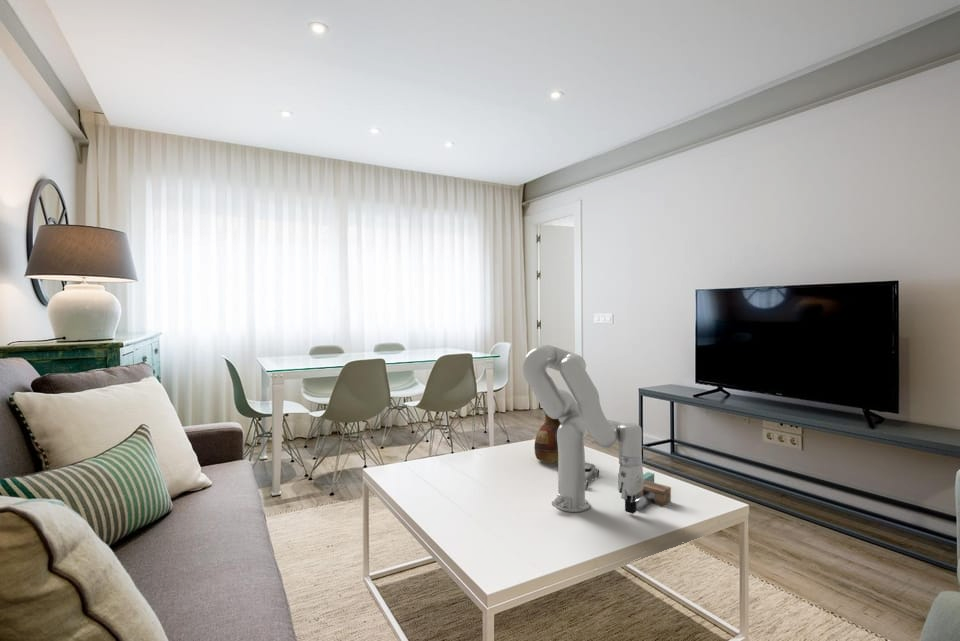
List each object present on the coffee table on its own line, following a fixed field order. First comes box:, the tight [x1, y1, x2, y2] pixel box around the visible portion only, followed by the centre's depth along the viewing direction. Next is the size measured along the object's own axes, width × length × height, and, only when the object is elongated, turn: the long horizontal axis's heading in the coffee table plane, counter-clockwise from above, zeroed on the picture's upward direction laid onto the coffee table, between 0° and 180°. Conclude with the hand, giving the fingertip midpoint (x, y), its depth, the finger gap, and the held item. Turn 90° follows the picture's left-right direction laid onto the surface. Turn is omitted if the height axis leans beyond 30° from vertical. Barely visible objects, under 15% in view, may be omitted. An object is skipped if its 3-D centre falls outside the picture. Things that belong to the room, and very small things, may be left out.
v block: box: [617, 471, 655, 483], centre depth 194 cm, size 10×11×4 cm
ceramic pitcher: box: [534, 410, 561, 464], centre depth 221 cm, size 20×20×30 cm
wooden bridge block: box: [636, 480, 672, 507], centre depth 177 cm, size 6×12×6 cm, turn 46°
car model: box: [585, 462, 600, 490], centre depth 199 cm, size 11×24×5 cm, turn 152°
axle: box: [636, 492, 654, 512], centre depth 173 cm, size 14×3×3 cm, turn 135°
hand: (630, 511), depth 164 cm, fingers closed
